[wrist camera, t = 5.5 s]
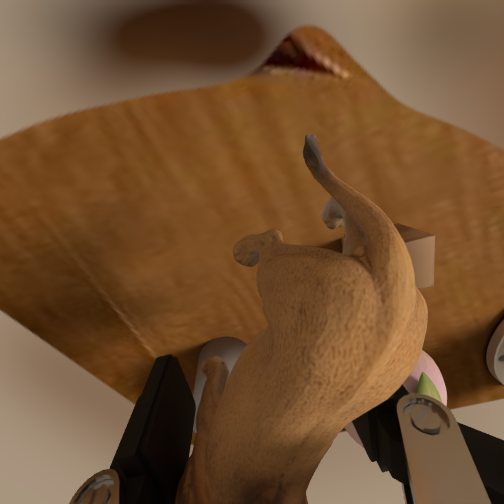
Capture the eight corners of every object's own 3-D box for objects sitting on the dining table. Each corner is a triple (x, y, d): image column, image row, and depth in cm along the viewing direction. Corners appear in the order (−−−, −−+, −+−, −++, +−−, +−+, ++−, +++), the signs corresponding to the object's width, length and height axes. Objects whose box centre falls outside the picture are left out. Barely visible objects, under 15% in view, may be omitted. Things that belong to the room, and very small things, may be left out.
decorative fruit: (305, 325, 23) (361, 431, 14) (388, 300, 23) (499, 390, 14) (321, 396, 26) (375, 522, 17) (394, 374, 27) (488, 487, 17)
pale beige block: (397, 223, 21) (434, 235, 17) (398, 265, 22) (433, 285, 19) (340, 237, 21) (366, 252, 17) (345, 279, 22) (369, 301, 19)
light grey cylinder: (244, 330, 23) (250, 384, 17) (256, 371, 25) (266, 432, 19) (191, 344, 23) (180, 403, 17) (207, 384, 24) (202, 450, 19)
